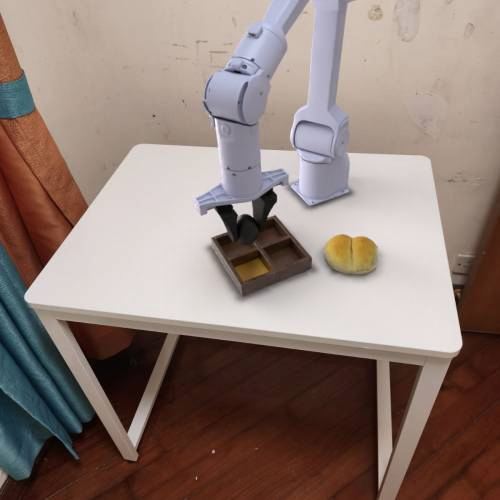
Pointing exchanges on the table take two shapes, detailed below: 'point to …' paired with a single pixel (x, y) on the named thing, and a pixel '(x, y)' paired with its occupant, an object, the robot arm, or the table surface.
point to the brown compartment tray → (262, 257)
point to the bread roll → (351, 254)
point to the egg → (247, 229)
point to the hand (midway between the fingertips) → (246, 233)
